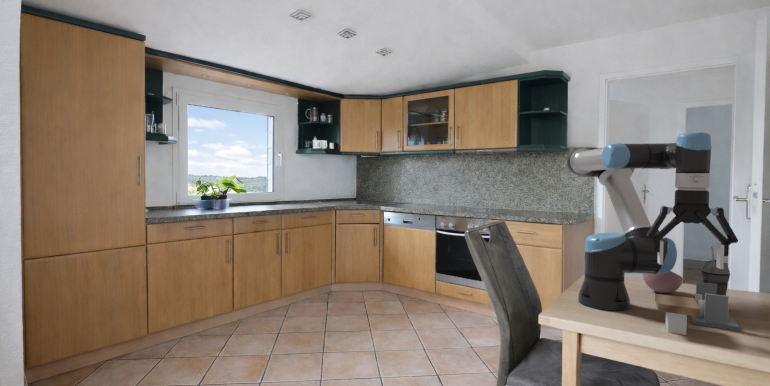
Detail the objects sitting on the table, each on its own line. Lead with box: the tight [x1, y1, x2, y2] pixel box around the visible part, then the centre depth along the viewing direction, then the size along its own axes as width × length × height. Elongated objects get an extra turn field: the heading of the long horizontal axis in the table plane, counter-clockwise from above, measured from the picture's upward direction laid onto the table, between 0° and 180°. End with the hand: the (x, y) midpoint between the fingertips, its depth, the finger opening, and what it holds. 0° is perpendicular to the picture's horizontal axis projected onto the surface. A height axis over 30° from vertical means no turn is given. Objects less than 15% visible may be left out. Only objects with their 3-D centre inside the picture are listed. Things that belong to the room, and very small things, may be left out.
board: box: [654, 293, 700, 317], centre depth 110 cm, size 9×11×2 cm
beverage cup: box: [700, 245, 731, 296], centre depth 128 cm, size 7×7×20 cm
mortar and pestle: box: [642, 270, 684, 294], centre depth 146 cm, size 12×12×11 cm
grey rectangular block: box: [664, 312, 688, 336], centre depth 110 cm, size 4×7×6 cm, turn 149°
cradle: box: [688, 281, 741, 332], centre depth 119 cm, size 10×17×9 cm, turn 149°
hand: (689, 265), depth 111 cm, fingers open, 13 cm apart
